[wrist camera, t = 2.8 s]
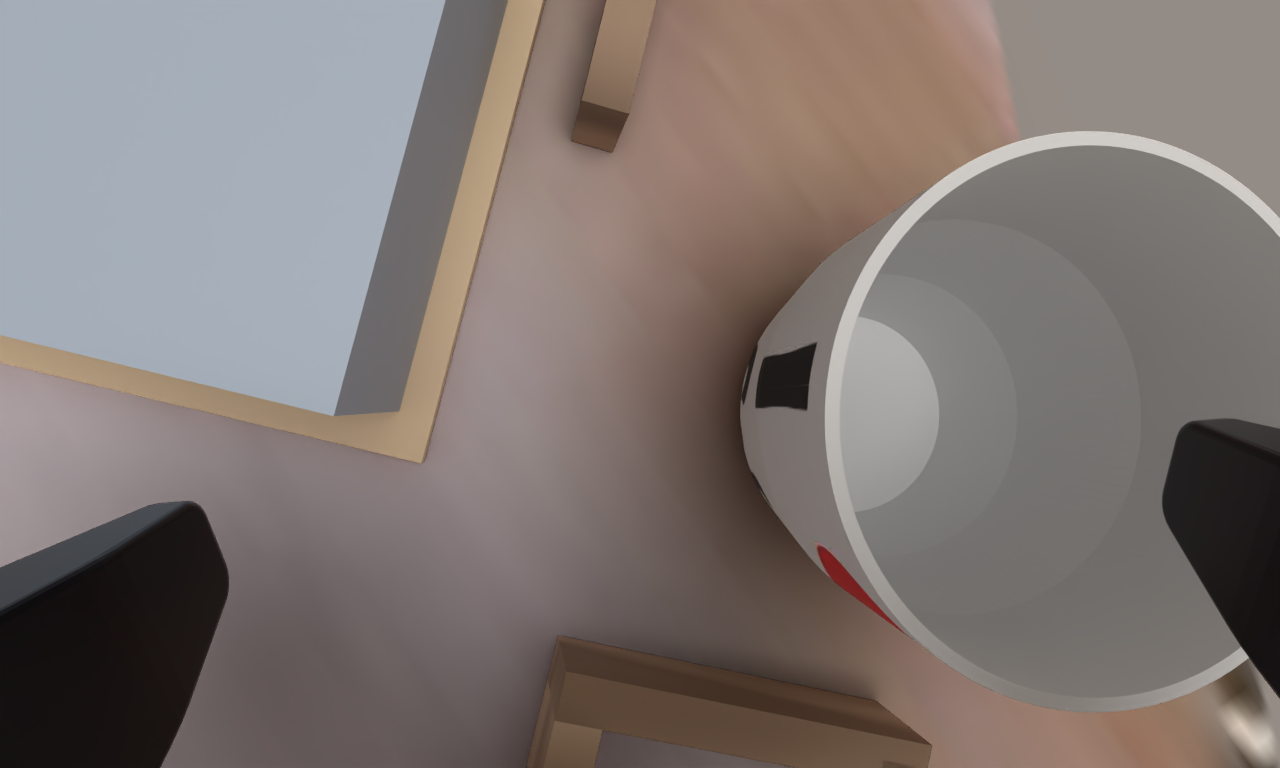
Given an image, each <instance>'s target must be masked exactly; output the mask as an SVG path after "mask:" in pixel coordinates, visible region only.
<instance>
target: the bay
mask: <svg viewBox="0 0 1280 768" xmlns="http://www.w3.org/2000/svg"><path fill="white" fill-rule="evenodd" d="M656 1H657V0H606V3H605V7H604V11H603V15H602V19H601V23H600V27H599V31H598V35H597V39H596V43H595V47H594V51H593V55H592V59H591V63H590V67H589V72H588V76H587V80H586V84H585V88H584V92H583V96H582V100H581V104H580V108H579V112H578V116H577V120H576V124H575V128H574V132H573V136H572V140H571V141H573V142H577V143H580V144H584V145H587V146H591V147H595V148H598V149H602V150H605V151H609V152H613V150H614V147H615V145H616V143H617V140H618V138H619V136H620V133H621V131H622V129H623V126H624V124H625V122H626V119H627V117H628V115H629V112H630V107H631V103H632V99H633V95H634V91H635V87H636V83H637V79H638V75H639V71H640V66H641V62H642V58H643V54H644V50H645V46H646V42H647V38H648V34H649V30H650V25H651V21H652V17H653V13H654V9H655V5H656Z"/></svg>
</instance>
